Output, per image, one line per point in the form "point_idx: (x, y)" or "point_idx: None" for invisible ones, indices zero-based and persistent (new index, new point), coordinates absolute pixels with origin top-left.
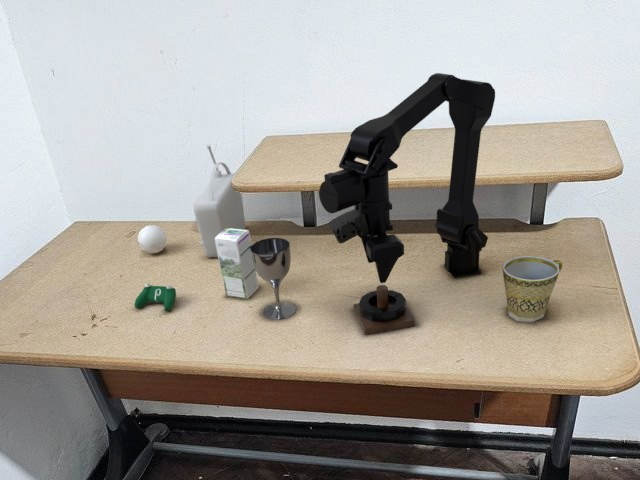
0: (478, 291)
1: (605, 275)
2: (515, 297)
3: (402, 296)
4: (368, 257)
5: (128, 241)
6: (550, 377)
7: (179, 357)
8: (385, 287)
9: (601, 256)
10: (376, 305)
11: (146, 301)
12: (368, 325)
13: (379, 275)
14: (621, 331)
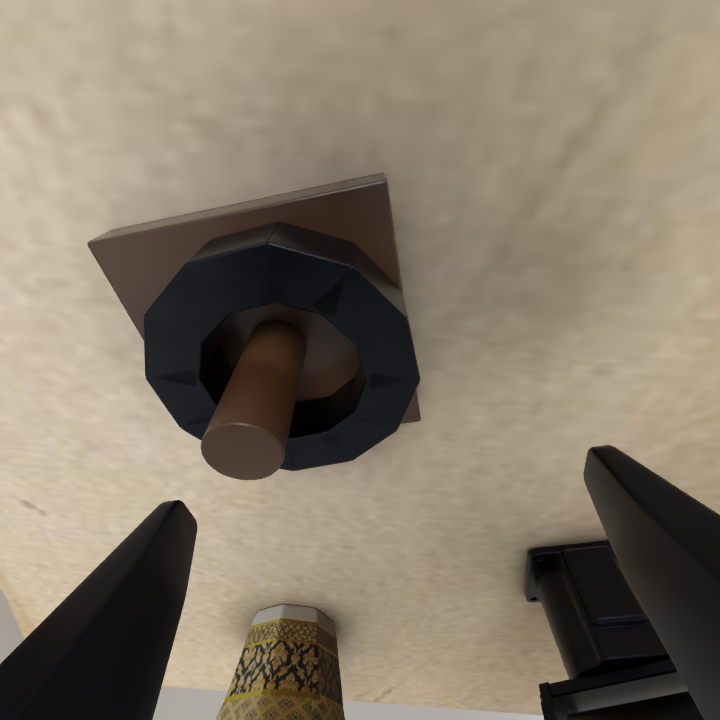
0: (425, 577)
1: (426, 702)
2: (234, 695)
3: (323, 461)
4: (623, 499)
5: None
6: (32, 615)
7: None
8: (243, 470)
9: (501, 709)
10: None
11: None
12: (126, 265)
13: (77, 591)
14: (225, 687)
